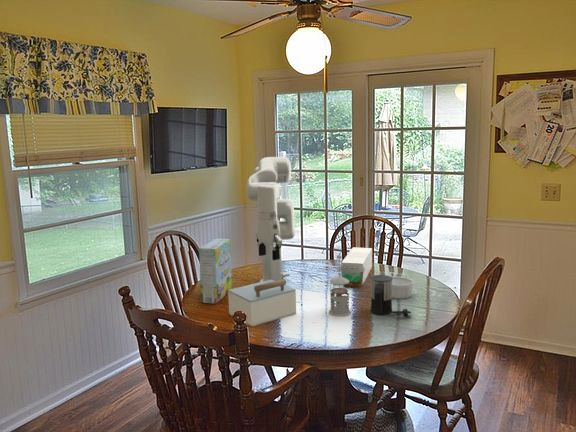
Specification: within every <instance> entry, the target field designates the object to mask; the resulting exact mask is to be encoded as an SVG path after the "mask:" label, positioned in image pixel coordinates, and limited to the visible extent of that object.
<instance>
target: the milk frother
mask: <svg viewBox="0 0 576 432" xmlns="http://www.w3.org/2000/svg"><path fill="white" fill-rule="evenodd" d="M392 277H393V276H391V275H387V274H375V275H372V276H371V277H370V279H371V285H370V289H371V291H370V295H371V296H370V309H369V310H370V312H371V314H375V315H379V316H385V315H386V316H387V315H391V314H403V315H402V316H405V317H406V316H408V314H412V312H411V311H408V309H407V308H403V309H402V310H395V311H394V310H393V304H392V303H393V302H392V301H393V298H392V279H393V278H392Z"/></svg>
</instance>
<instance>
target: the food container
mask: <svg viewBox="0 0 576 432" xmlns="http://www.w3.org/2000/svg"><path fill="white" fill-rule="evenodd" d="M340 271H342V273H341V277H343V278H346V279H347V280H349V283H348V284H346V285H342V286H343V288H346V289H359V288H361V287H362V286H363V284H362V281H363V272H364V271H365V268H364V267H362V268H357V267H344V266H342V264H340Z"/></svg>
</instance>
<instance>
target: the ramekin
mask: <svg viewBox="0 0 576 432" xmlns="http://www.w3.org/2000/svg"><path fill="white" fill-rule="evenodd" d="M391 277H392V278H393V279H392V299H395V300H404V299H405V300H406V299H408V298H410V297H411V296H412V292H413V286H414V280H413V279H412V278H409V277H404V276H391Z"/></svg>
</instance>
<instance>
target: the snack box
mask: <svg viewBox="0 0 576 432" xmlns="http://www.w3.org/2000/svg"><path fill="white" fill-rule="evenodd" d="M231 249H232V248H231V239H230V238H214V239H212V240H211V241H209V242H207V243H206V244H204V245H203V246H201V247H199V248H198V253H199V254H198V255H199V257H198V259H199V260H198V261H199V285H200V286H199V287H200V303H203V304H215V305H216V304H218V303H219V302H221V300H222V299H223V298H224V297H225V296H226V295H228V292H229V291H228V290H230V289H233V287H232V257H231V256H232V255H231V253H232V252H231Z"/></svg>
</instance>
